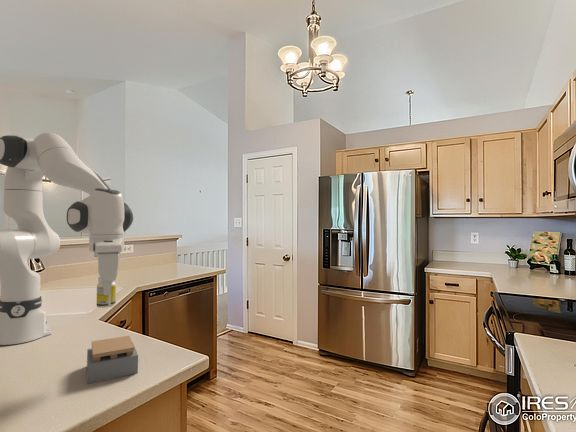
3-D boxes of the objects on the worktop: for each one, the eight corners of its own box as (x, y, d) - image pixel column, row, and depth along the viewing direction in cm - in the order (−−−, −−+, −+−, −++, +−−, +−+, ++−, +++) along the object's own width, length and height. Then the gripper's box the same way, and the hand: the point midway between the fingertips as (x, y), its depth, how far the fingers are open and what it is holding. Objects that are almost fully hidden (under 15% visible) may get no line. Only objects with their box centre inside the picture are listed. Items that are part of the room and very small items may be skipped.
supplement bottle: (111, 303, 97) (112, 274, 97) (118, 305, 94) (118, 276, 94) (93, 306, 93) (94, 276, 93) (99, 308, 90) (100, 278, 90)
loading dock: (86, 366, 95) (87, 341, 95) (131, 357, 102) (132, 334, 102) (87, 383, 85) (88, 356, 85) (137, 373, 92) (138, 347, 92)
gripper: (93, 243, 101) (92, 287, 100) (95, 246, 84) (94, 301, 83) (116, 242, 104) (115, 285, 104) (122, 246, 87) (122, 298, 87)
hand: (106, 292), depth 93 cm, fingers closed on supplement bottle, 5 cm apart
